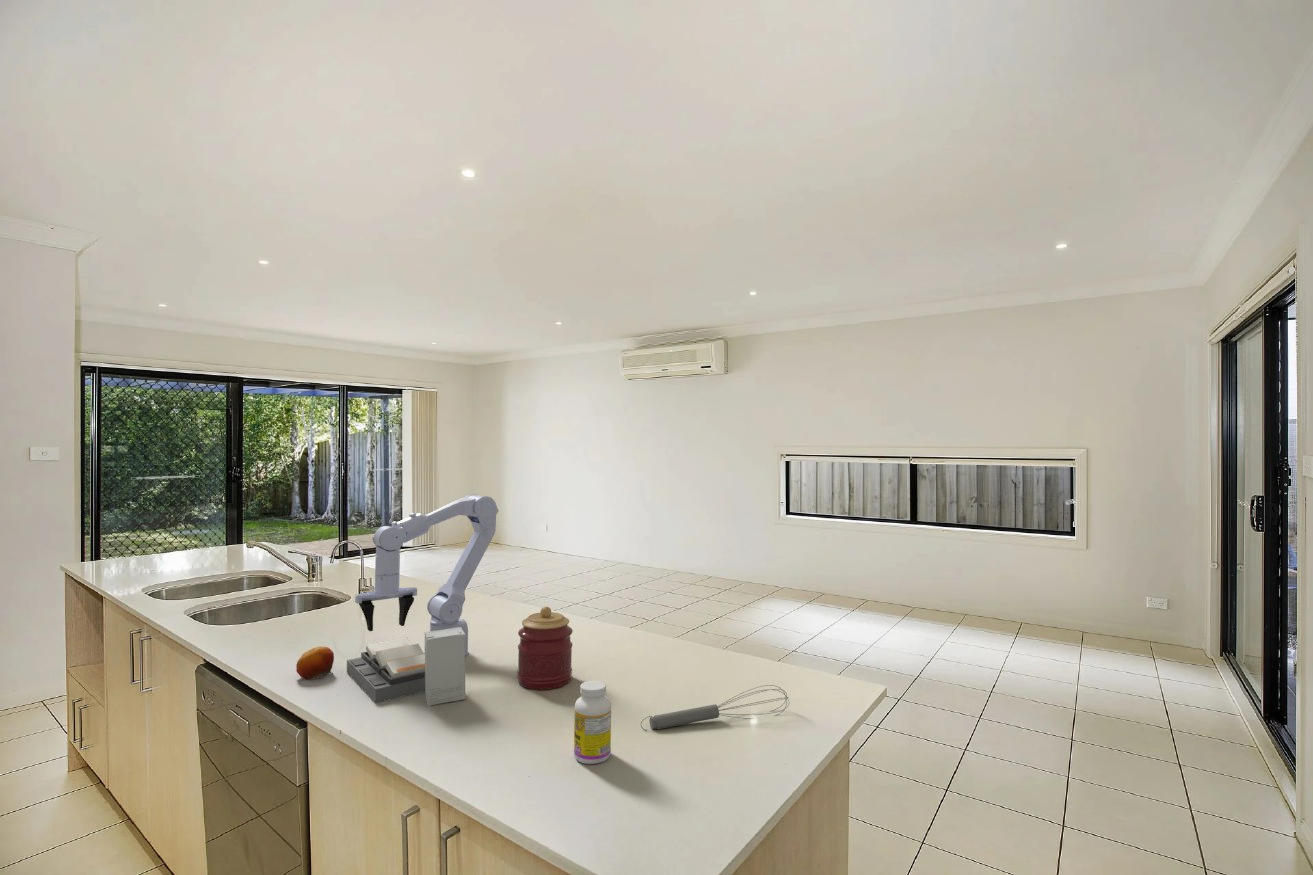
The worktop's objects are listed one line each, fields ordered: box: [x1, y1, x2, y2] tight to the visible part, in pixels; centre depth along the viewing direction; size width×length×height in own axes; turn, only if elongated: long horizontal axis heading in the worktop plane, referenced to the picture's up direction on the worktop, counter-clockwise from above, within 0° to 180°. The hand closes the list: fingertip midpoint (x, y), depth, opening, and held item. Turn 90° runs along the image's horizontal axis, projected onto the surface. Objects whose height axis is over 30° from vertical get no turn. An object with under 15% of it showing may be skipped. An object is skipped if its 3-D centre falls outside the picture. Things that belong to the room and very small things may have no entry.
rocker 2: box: [386, 654, 425, 679], centre depth 143 cm, size 10×6×2 cm, turn 130°
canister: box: [516, 606, 573, 691], centre depth 148 cm, size 13×13×18 cm
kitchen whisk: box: [640, 684, 791, 731], centre depth 127 cm, size 6×33×6 cm, turn 107°
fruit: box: [295, 645, 335, 680], centre depth 149 cm, size 8×8×8 cm
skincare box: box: [424, 627, 466, 707], centre depth 137 cm, size 8×6×15 cm
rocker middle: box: [376, 643, 424, 669], centre depth 149 cm, size 10×6×2 cm, turn 130°
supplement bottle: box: [573, 680, 612, 765], centre depth 112 cm, size 7×7×13 cm
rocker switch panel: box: [346, 651, 425, 704], centre depth 149 cm, size 15×28×4 cm, turn 40°
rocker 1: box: [365, 636, 414, 660], centre depth 155 cm, size 10×6×2 cm, turn 130°
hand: (386, 627), depth 156 cm, fingers open, 7 cm apart
